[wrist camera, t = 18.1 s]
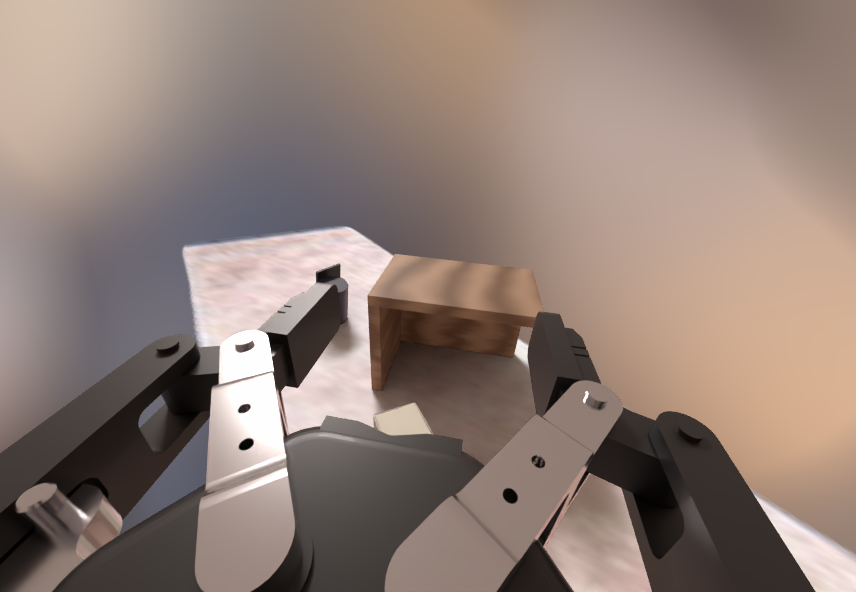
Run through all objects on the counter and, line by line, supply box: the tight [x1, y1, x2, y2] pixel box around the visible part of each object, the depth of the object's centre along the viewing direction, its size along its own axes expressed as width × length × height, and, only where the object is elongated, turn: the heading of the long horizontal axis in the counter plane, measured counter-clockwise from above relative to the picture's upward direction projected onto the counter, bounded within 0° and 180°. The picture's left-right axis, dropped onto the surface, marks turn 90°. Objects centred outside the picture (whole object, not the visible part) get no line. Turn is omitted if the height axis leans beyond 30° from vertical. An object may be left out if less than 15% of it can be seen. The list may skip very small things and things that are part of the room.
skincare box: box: [373, 403, 434, 435], centre depth 31 cm, size 6×4×12 cm
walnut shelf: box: [368, 254, 544, 391], centre depth 50 cm, size 22×14×16 cm, turn 81°
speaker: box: [316, 264, 348, 324], centre depth 62 cm, size 8×6×10 cm
